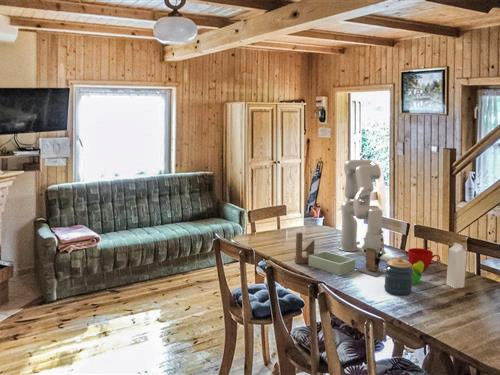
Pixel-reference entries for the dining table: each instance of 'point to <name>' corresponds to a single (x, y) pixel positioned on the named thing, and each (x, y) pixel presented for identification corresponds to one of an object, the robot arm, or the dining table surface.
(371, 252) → the walnut block
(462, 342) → the dining table surface
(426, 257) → the ceramic cup
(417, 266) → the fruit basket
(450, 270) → the milk
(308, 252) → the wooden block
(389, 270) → the canister
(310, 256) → the box
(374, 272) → the felt pad
